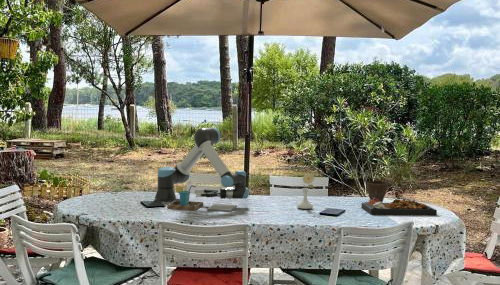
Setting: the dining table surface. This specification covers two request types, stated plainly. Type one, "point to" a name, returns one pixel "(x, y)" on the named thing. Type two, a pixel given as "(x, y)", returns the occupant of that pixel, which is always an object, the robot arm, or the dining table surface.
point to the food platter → (397, 208)
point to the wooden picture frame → (174, 206)
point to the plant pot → (376, 189)
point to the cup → (184, 195)
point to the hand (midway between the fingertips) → (195, 193)
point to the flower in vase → (305, 203)
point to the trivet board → (222, 207)
